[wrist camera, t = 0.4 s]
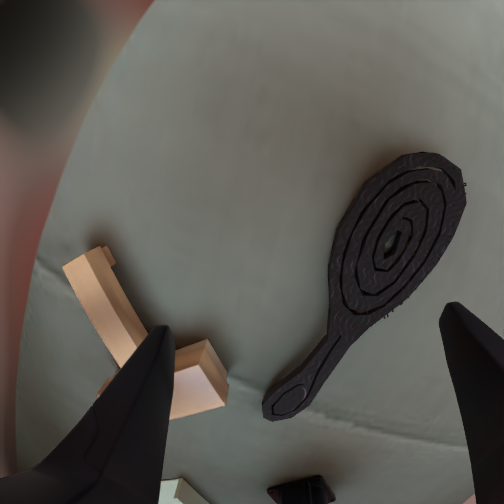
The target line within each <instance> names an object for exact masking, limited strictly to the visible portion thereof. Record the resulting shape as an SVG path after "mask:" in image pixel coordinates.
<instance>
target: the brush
mask: <svg viewBox="0 0 504 504" xmlns="http://www.w3.org/2000/svg"><path fill="white" fill-rule="evenodd" d="M115 264H116V262H115V260H114V258H113V256H112V254H111V252H110V250H109V248H108V246H105V247H103V248H101V247H100V246H98V247H96V248H94V249H92V250H90V251H88V252H86V253H84V254H82V255H81V256H79V257H77V258H76V259H74V260H72V261H71V262H69V263H67V264H66V265H64V266H63V267H62V269H63V271H64V272H65V274H66V276H67V278H68V280H69V282H70V284H71V286H72V288H73V290H74V292H75V293H76V295H77V297H78V299H79V301H80V303H81V304H82V306H83V308H84V310H85V311H86V313H87V315H88V317H89V318H90V320H91V322H92V323H93V325H94V327H95V328H96V330H97V332H98V333H99V335H100V337H101V338H102V340H103V341H104V343H105V345H106V346H107V348H108V349H109V351H110V352H111V354H112V356H113V357H114V359H115V360H116V362H117V363H118V365H119V366H120V368H122V366H123V365H124V364H125V363H126V361H127V360H128V359H129V357H130V356H131V355H132V354H133V352H134V351H135V350H136V349H137V347H138V346H139V345H140V344H141V342H142V341H143V340H144V339H145V337H146V336H147V335H148V333H147V331H146V329H145V328H144V326H143V324H142V323H141V321H140V319H139V318H138V316H137V314H136V312H135V311H134V309H133V307H132V306H131V304H130V302H129V300H128V298H127V297H126V295H125V293H124V291H123V289H122V288H121V286H120V284H119V282H118V280H117V278H116V276H115V275H114V273H113V271H112V269H111V267H112V266H113V265H115ZM119 370H120V369H119ZM119 370H117V371H116V373H115V374H114V376H113V377H111V378H108V379H107V380H106V382H105V383H104V384H103V386H102V387H101V389H100V390H99V391H98V393H97V394H96V396H97V397H99V396H100V394H101V393H102V392H103V391H104V389H105V388H106V387H107V385H108V384H109V383H110V382H111V380H112V379H113V378H114V377H115V375H116V374H117V373H118V371H119ZM227 375H228V372H227V371H226V369H225V367H224V366H223V364H222V362H221V361H220V359H219V357H218V356H217V354H216V352H215V351H214V349H213V347H212V346H211V344H210V342H209V341H208V339H205V340H203V341H200V342H197V343H195V344H192V345H189V346H186V347H184V348H181V349H178V350H175V370H174V391H173V398H172V405H171V412H170V418H169V420H172V419H176V418H180V417H184V416H188V415H192V414H196V413H200V412H204V411H207V410H211V409H215V408H218V407H222V406H225V405H226V400H227V394H228V388H229V384H228V383H227V381H226V380H227Z"/></svg>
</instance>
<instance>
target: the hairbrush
mask: <svg viewBox="0 0 504 504" xmlns="http://www.w3.org/2000/svg"><path fill="white" fill-rule="evenodd" d="M419 166H421V167H435V168H439V169H441V170H442V172H440V171H437V170H433V169H428V168H424V169H416V170H411V169H413V168H416V167H419ZM408 170H409V171H408ZM395 175H397V176H395ZM393 176H395V177H394V178H392V177H393ZM391 178H392V179H391ZM421 179H429V180H431V181H433V182H435V183H436V184H437V186H436V185H435V184H433V183H432V182H429V181H419V180H421ZM464 184H465V185H464ZM464 186H467V185H466V183H463V178H462V172H461V169H460V168H458V167H457V166H456V165H454V164H453V163H452V162H450V161H449V160H447V159H446V158H445V157H443V156H442V155H440V154H437V153H428V152H418V153H412V154H405V155H401V156H400V157H399V158H397V159H396V160H394V161H393V162H392V163H390V164H389V165H387V166H385V167H384V168H383V169H382V170H380V171H379V172H378V173H376V174H375V175H373V176H372V177H371V178H369V179H368V180H367V181H365V183H364V184H363V186H362V188H361V189H360V191H359V192H358V194H357V196H356V197H355V198H354V200H353V201H352V203H351V205H350V207H349V209H348V211H347V212H346V214H345V216H344V217H343V219H342V220H341V222H340V224H339V225H338V227H337V228H336V233H335V238H334V242H333V247H332V251H331V256H330V260H329V264H328V286H329V311H328V322H327V332H326V335H325V336H324V337H323V338H322V340H321V341H320V342H319V343H318V345H317V346H316V347H315V348H314V349H313V351H312V352H311V353H310V354H309V356H308V357H307V358H306V359H305V360H304V361H303V363H302V364H301V365H300V366H299V367H298V368H296V369H295V370H294V371H292V372H291V373H290V374H289V375H287V376H286V377H285V378H283V379H282V380H281V381H279V382H278V383H277V384H275V385H274V386H273V387H272V388H271V390H270V391H269V393H268V394H267V395H266V397H265V398H264V400H263V401H262V411H263V418H265V419H268V420H270V421H272V422H273V421H278V420H283V419H288V418H292V417H293V416H295V415H296V414H298V413H299V412H301V411H302V410H303V409H305V408H306V407H308V406H309V405H310V404H311V402H312V401H313V399H314V398H315V396H316V395H317V393H318V391H319V390H320V388H321V387H322V385H323V384H324V382H325V381H326V379H327V378H328V377H329V375H330V374H331V372H332V371H333V370H334V368H335V367H336V365H337V364H338V363H339V361H340V360H341V358H342V357H343V355H344V354H345V353H346V351H347V350H348V348H349V347H350V346H351V345H352V344H353V343H354V342H355V341H356V340H357V339H358V338H359V337H360V336H361V335H362V334H363V333H364V332H365V331H366V330H367V329H368V328H369V327H371V326H372V325H373V324H374V323H376V322H377V321H379V320H380V319H381V318H383V317H384V319H385V315H387V317H388V313H389V312H390V311H392V312H393V309H394V308H396V307H397V306H398V305H401V303H402V304H403V301H405V300H406V299H407V298H409V296H410V295H411V294H412V293H413V292H414V290H417V289H416V288H417V287H418V286H419V285H420V284H421V282H423V280H424V279H425V278H426V277H427V275H428V274H429V273H430V272H431V271H432V269H433V268H434V267H435V266H436V264H437V263H438V261H439V260H440V258H441V256H442V255H443V253H444V252H445V250H446V248H447V247H448V245H449V243H450V242H451V240H452V238H453V236H454V234H455V232H456V229H457V227H458V224H459V222H460V219H461V216H462V214H463V211H464V208H465V206H466V196H465V194H466V193H465V189H464ZM417 199H419V200H420V201H421V203H422V204H421V203H420V202H418V201H415V200H417ZM362 209H363V210H362ZM403 216H405V217H407V218H408V219H409V221H410V222H409V221H408V220H406V219H405V218H403ZM396 230H398V233H397V236H396V239H395V241H394V244H393V246H392V249H391V250H390V251H389V252H387V253H386V254H385V255H384V247H385V245H384V244H385V243H386V242H387V241H388V240H389V238H390V237H391V236H392V235H393V234H394V232H395V231H396ZM362 238H363V239H362ZM345 245H346V246H345ZM344 247H345V249H344ZM343 252H344V253H343ZM372 260H373V261H372ZM373 264H374V265H375V266H376V267H374V265H373ZM355 268H356V276H357V281H356V279H355V276H354V271H355ZM340 270H341V280H340V284H339V275H340ZM357 283H358V284H357ZM358 286H359V287H360V288H359V287H358ZM340 288H341V290H340ZM362 290H364V291H366V293H364V292H363V291H362ZM341 291H342V294H343V297H344V299H345V301H346V303H347V305H348V307H349V308H351V309H353V310H349V309H348V307H347V306H346V304H345V303H344V301H343V300H342V297H341ZM272 405H273V409H272Z"/></svg>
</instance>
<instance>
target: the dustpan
mask: <svg viewBox="0 0 504 504" xmlns="http://www.w3.org/2000/svg"><path fill="white" fill-rule="evenodd" d="M158 503H159V504H209V503H208V502H207V501H206V500H205V499H204V498H203V497H202V496H201V495H199V494H198V493H197V492H196V491H195V490H194V489H193V488H192V487H191V486H190V485H189V484H188V483H187V482H186V481H185V480H184V479H183V478H179V479H170V480H161V486H160V495H159V502H158Z"/></svg>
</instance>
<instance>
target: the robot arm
mask: <svg viewBox="0 0 504 504" xmlns="http://www.w3.org/2000/svg"><path fill="white" fill-rule="evenodd" d="M439 328H440V332H441V336H442V341H443V346H444V351H445V356H446V360H447V365H448V368H449V372H450V375H451V379H452V382H453V386H454V389H455V393H456V397H457V401H458V405H459V409H460V413H461V417H462V422H463V426H464V431H465V435H466V440H467V445H468V450H469V456H470V461H471V468H472V474H473V481H474V488H475V496H476V504H504V340H503V339H502V338H501V337H500V336H499V335H498V334H497V333H495V332H494V331H493V330H492V329H491V328H489V327H488V326H487V325H486V324H485V323H484V322H482V321H481V320H480V319H479V318H478V317H476V316H475V315H474V314H473V313H471V312H470V311H469V310H468V309H467V308H465V307H464V306H463V305H462V304H460V303H459V302H450V303H447V304H446V306H445V308H444V310H443V312H442V314H441V317H440V319H439ZM175 349H176V346H175V341H174V338H173V336H172V333H171V331H170V328H169V327H168V326H167V325H156V326H155V327H153V329H152V330H151V331H150V332H149V334H148V335H147V336H146V337H145V339H144V340H143V341H142V342H141V344H140V345H139V346H138V347H137V349H136V350H135V351H134V352H133V354H132V355H131V356H130V357H129V359H128V360H127V361H126V363H125V364H124V365H123V366H122V368H121V369H120V370H119V371H118V373H117V374H116V375H115V377H114V378H113V379H112V380H111V382H110V383H109V384H108V385H107V387H106V388H105V389H104V391H103V392H102V393H101V394H100V396H99V397H98V398H97V400H96V401H95V402H94V404H93V406H91V407H90V409H89V410H88V411H87V413H86V414H85V415H84V416H83V418H82V419H81V420H80V421H79V423H78V424H77V425H76V426H75V427H74V428H73V429H72V431H71V432H70V433H69V434H68V435H67V436H66V437H65V438H64V439H63V440H62V441H61V442H60V443H59V445H58V446H57V447H56V448H55V449H54V450H53V451H52V452H51V453H50V454H49V455H48V456H47V457H46V458H45V459H44V460H43V461H42V462H41V463H39V464H38V465H36V466H35V467H33V468H30V469H28V470H25V471H22V472H19V473H16V474H13V475H10V476H6V477H3V478H0V504H159V503H158V502H159V495H160V486H161V478H162V470H163V462H164V454H165V446H166V439H167V432H168V425H169V418H170V412H171V405H172V398H173V391H174V370H175ZM267 493H268V494H269V496H270V497H271V498H272V499H273V500H274V501H275V502H276V503H277V504H329V503H331V502H334V501H335V500H336V498H335V496H334V494H333V493H332V491H331V489H330V488H329V486H328V485H327V483H326V482H325V480H324V479H323V477H322V476H320V475H318V476H314V477H311V478H307V479H304V480H300V481H296V482H293V483H289V484H285V485H280V486H276V487H272V488H268V489H267Z"/></svg>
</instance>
